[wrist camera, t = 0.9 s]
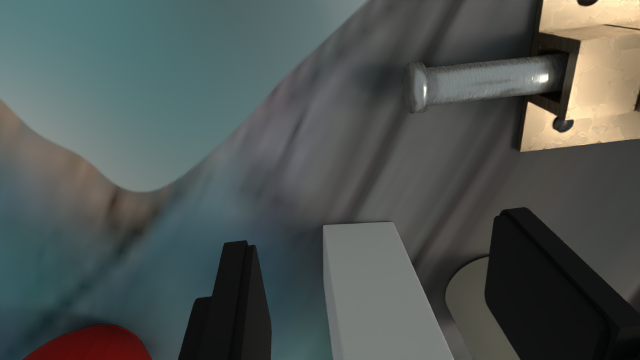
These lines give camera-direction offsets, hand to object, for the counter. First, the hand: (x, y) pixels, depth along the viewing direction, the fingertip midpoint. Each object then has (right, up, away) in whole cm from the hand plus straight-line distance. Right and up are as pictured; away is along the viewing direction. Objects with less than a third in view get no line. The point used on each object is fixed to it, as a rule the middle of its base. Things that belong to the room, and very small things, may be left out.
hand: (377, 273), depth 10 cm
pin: (+12, +10, +18) cm, 24 cm away
